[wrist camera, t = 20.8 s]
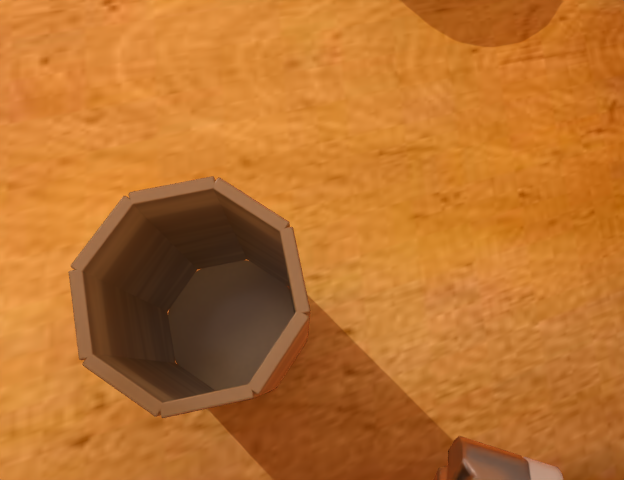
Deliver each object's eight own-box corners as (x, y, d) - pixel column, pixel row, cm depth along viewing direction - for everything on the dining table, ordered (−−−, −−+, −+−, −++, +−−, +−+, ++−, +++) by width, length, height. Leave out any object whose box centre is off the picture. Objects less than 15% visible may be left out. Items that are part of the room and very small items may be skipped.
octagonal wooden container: (330, 305, 27) (347, 258, 17) (252, 425, 26) (216, 460, 15) (217, 231, 28) (164, 141, 17) (136, 345, 27) (24, 324, 16)
